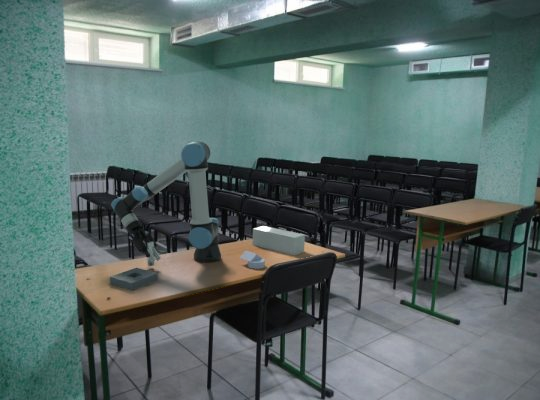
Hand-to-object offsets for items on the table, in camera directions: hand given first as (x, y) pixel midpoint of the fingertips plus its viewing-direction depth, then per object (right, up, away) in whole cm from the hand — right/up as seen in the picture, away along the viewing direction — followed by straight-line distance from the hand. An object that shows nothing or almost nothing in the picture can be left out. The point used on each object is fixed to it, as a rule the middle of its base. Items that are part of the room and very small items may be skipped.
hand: (156, 260), depth 219 cm
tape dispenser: (+49, -5, +14) cm, 51 cm away
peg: (-3, -3, +2) cm, 5 cm away
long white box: (+62, 0, +49) cm, 79 cm away
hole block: (-6, -8, -18) cm, 20 cm away
